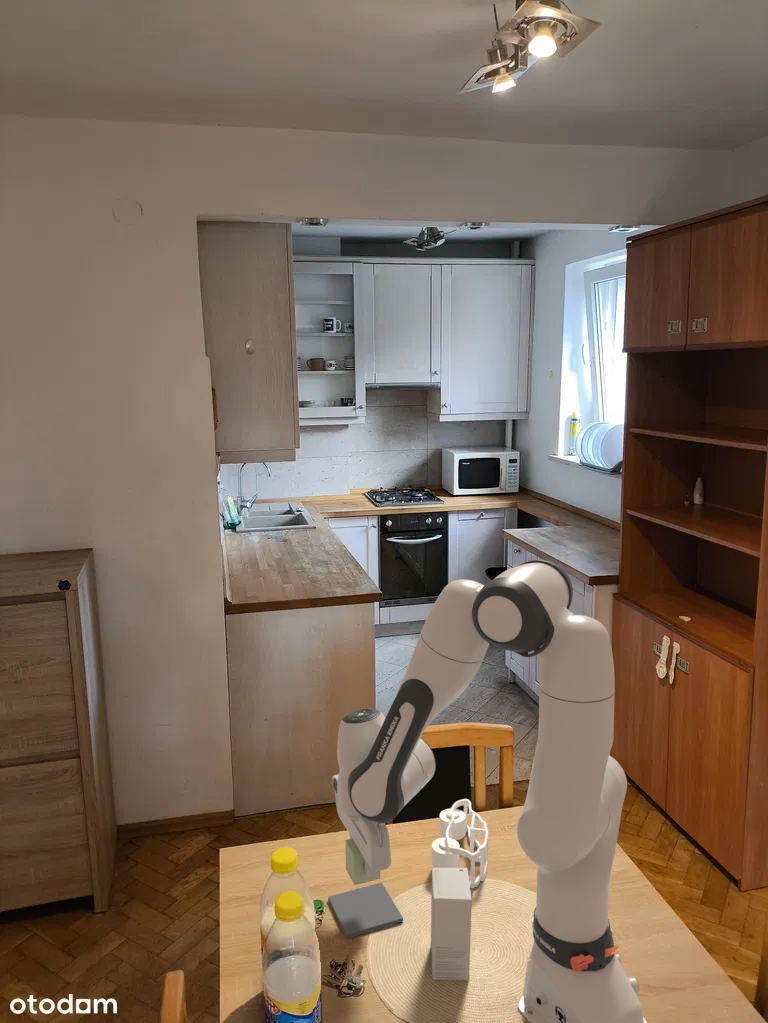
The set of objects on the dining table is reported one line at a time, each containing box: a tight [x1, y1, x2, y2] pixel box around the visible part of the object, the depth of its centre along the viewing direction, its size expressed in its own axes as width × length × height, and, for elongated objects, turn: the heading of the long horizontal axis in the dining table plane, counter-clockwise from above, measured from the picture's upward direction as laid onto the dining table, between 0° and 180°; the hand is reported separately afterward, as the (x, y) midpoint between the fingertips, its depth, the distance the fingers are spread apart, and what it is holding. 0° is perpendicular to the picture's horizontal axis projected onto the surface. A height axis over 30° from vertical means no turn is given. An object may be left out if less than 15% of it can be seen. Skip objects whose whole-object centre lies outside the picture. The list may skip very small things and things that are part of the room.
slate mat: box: [327, 882, 404, 939], centre depth 143 cm, size 11×11×1 cm
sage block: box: [345, 838, 381, 886], centre depth 142 cm, size 5×5×6 cm
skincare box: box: [430, 867, 473, 981], centre depth 129 cm, size 8×7×16 cm
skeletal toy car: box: [431, 798, 489, 889], centre depth 159 cm, size 20×11×7 cm, turn 168°
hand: (363, 863), depth 142 cm, fingers closed on sage block, 5 cm apart
